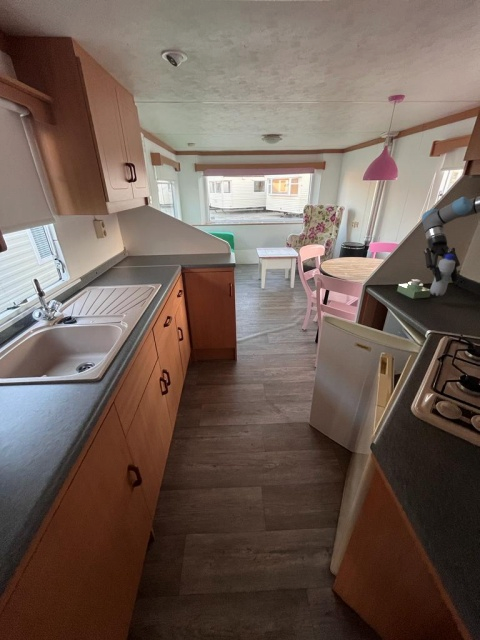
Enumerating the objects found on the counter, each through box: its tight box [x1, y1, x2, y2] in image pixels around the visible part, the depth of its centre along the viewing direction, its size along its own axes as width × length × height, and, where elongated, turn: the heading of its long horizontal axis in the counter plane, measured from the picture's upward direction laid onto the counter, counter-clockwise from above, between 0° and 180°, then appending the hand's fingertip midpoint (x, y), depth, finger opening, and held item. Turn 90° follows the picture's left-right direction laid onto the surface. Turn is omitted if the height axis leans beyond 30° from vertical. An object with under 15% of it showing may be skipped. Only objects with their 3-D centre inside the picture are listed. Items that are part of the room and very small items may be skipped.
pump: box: [410, 278, 422, 285], centre depth 143 cm, size 4×4×2 cm
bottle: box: [429, 254, 455, 297], centre depth 127 cm, size 7×7×20 cm
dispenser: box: [396, 281, 431, 300], centre depth 145 cm, size 12×10×6 cm
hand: (446, 280), depth 125 cm, fingers closed on bottle, 7 cm apart
